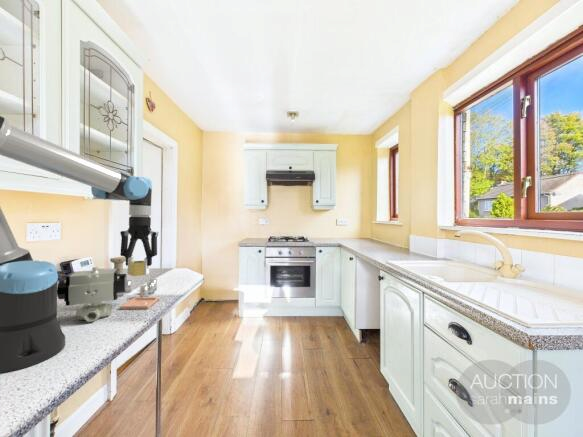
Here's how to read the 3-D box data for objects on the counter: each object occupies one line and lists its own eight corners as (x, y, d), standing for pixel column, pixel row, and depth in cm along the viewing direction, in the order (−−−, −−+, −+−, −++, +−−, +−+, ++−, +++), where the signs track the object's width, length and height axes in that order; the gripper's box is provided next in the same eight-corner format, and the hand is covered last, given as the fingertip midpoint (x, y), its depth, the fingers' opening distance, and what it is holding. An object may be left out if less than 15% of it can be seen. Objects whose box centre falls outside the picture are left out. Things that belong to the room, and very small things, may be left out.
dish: (147, 309, 95) (147, 306, 95) (120, 309, 94) (120, 306, 94) (159, 300, 105) (159, 297, 105) (134, 300, 104) (134, 297, 104)
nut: (149, 272, 103) (149, 260, 103) (141, 276, 97) (142, 263, 97) (135, 272, 103) (135, 260, 103) (126, 276, 96) (127, 263, 96)
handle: (127, 289, 118) (127, 258, 118) (110, 292, 113) (111, 259, 113) (125, 287, 121) (125, 256, 121) (109, 289, 117) (109, 258, 117)
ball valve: (54, 329, 78) (55, 272, 77) (64, 318, 85) (64, 267, 85) (123, 318, 86) (124, 268, 86) (126, 310, 94) (127, 263, 93)
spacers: (144, 300, 104) (144, 288, 104) (106, 300, 103) (106, 288, 103) (159, 289, 119) (160, 279, 119) (127, 289, 118) (127, 279, 118)
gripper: (167, 216, 104) (166, 271, 104) (121, 215, 102) (119, 271, 102) (160, 217, 97) (158, 276, 97) (109, 215, 95) (108, 275, 95)
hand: (138, 273), depth 100 cm, fingers closed on nut, 5 cm apart
